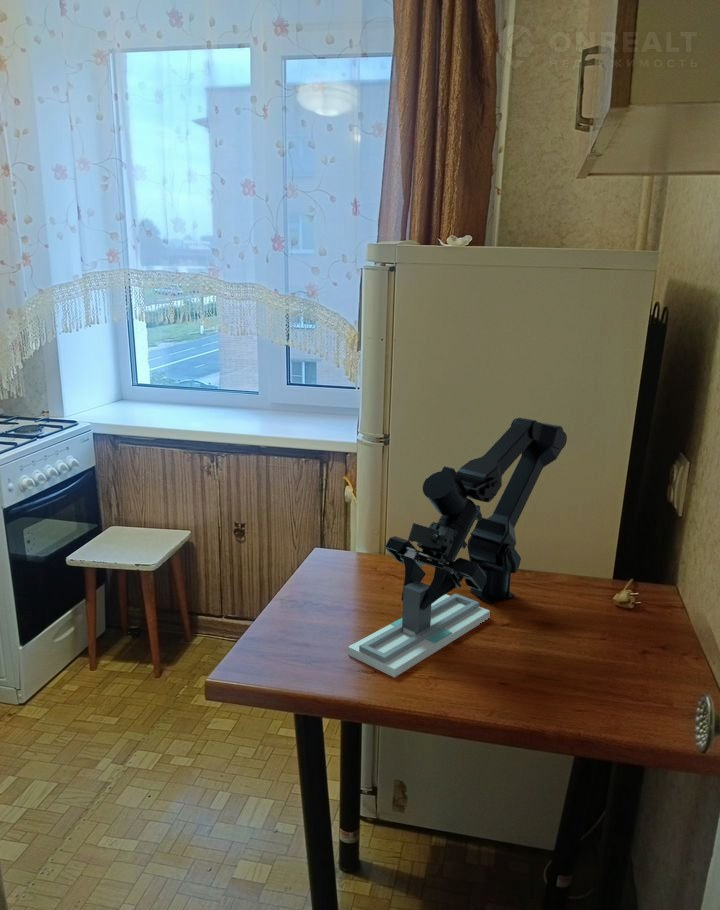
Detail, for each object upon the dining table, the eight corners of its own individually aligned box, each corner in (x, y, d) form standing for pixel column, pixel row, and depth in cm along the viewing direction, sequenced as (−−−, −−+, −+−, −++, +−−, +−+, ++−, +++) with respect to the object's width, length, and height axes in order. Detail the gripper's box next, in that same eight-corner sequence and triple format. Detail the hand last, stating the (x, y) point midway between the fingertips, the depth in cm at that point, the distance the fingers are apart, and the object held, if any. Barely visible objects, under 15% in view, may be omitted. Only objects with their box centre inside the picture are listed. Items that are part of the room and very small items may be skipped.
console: (445, 601, 142) (446, 589, 141) (489, 618, 135) (490, 605, 135) (347, 654, 121) (348, 641, 121) (394, 677, 115) (394, 663, 114)
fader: (415, 623, 129) (417, 580, 127) (430, 630, 127) (433, 586, 125) (400, 631, 126) (402, 587, 124) (416, 638, 124) (419, 593, 122)
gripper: (392, 493, 130) (349, 568, 125) (481, 518, 118) (438, 602, 113) (417, 524, 137) (378, 596, 132) (503, 550, 125) (464, 630, 120)
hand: (412, 605), depth 124 cm, fingers closed on fader, 3 cm apart
